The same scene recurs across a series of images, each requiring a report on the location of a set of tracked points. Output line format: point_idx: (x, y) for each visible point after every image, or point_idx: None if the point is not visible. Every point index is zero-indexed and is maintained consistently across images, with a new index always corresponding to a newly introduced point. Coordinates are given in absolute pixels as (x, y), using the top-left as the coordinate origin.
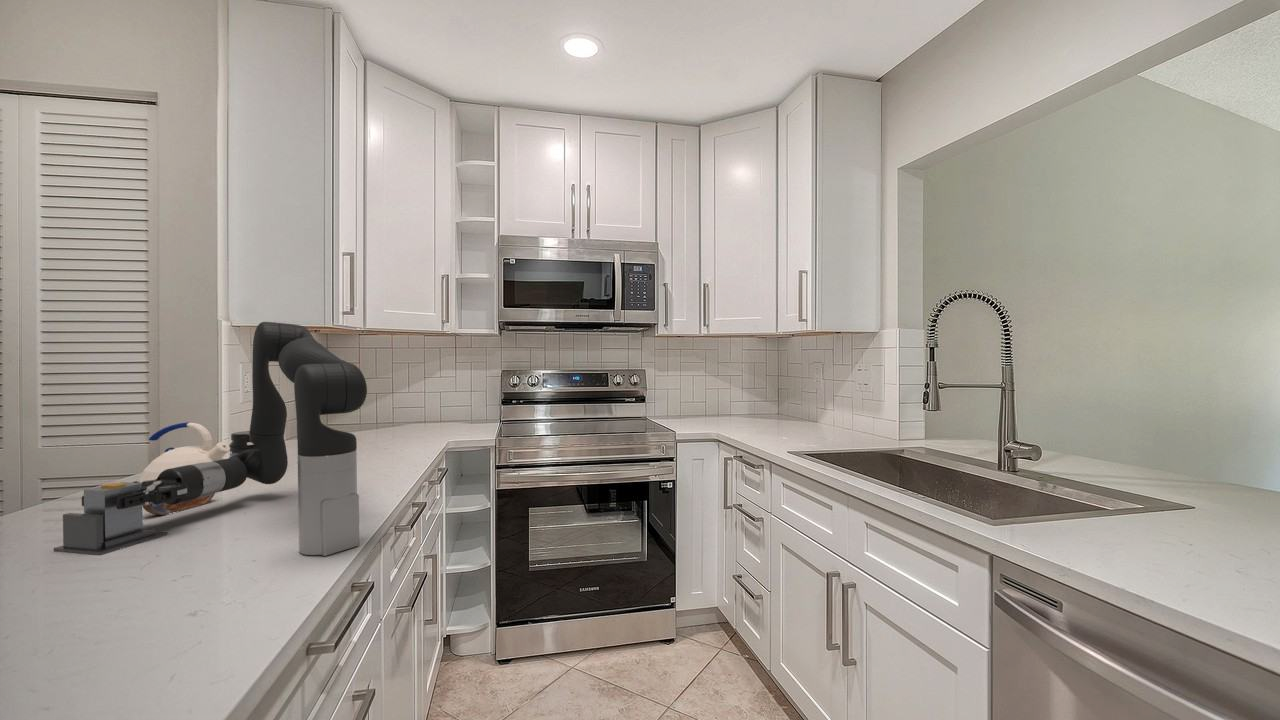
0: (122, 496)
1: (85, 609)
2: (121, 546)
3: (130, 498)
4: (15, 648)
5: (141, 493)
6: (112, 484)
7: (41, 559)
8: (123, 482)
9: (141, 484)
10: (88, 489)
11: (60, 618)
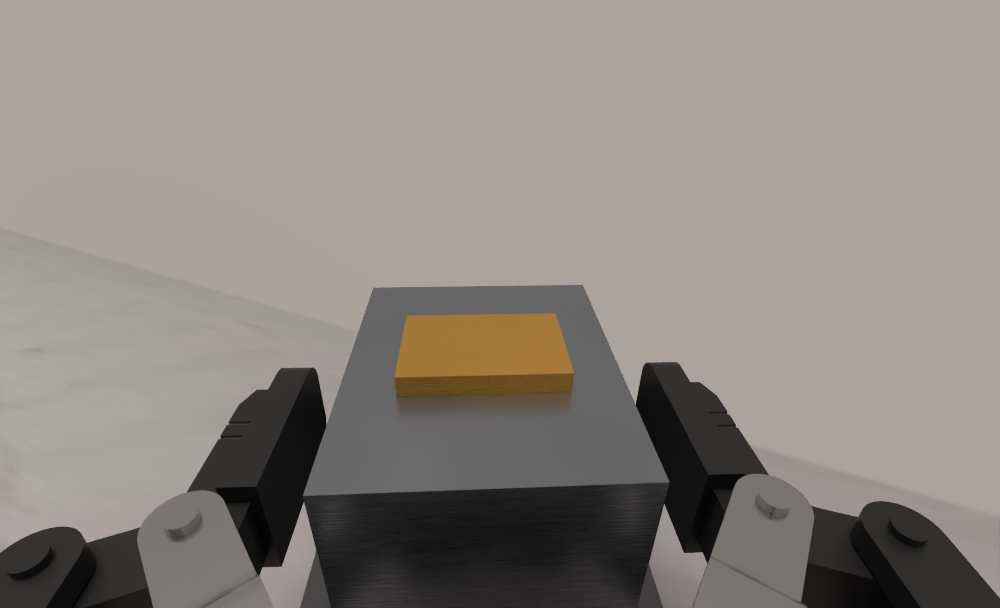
0: (297, 383)
1: (25, 305)
2: (309, 575)
3: (236, 415)
4: (60, 248)
5: (218, 487)
6: (485, 338)
7: None
8: (623, 476)
9: (310, 505)
10: (559, 291)
11: (56, 286)
